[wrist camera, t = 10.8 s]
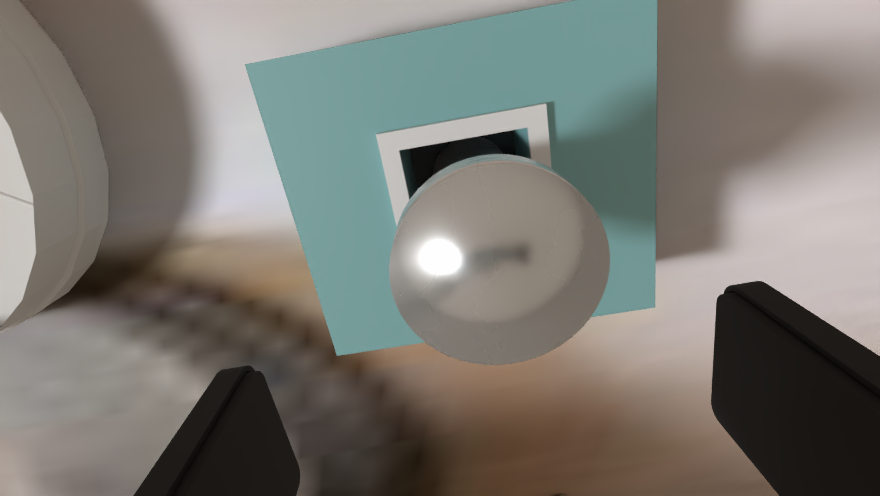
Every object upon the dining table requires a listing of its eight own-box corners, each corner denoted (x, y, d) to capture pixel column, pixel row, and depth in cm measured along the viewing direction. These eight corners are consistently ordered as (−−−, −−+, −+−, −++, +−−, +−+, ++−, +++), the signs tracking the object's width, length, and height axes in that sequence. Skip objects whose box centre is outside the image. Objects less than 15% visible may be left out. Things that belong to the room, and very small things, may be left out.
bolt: (536, 220, 25) (613, 348, 14) (423, 239, 26) (412, 378, 15) (524, 101, 23) (606, 145, 12) (399, 124, 23) (366, 187, 12)
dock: (621, 267, 27) (658, 310, 22) (352, 310, 28) (335, 359, 23) (614, -2, 21) (661, -17, 17) (280, 62, 22) (241, 64, 18)
